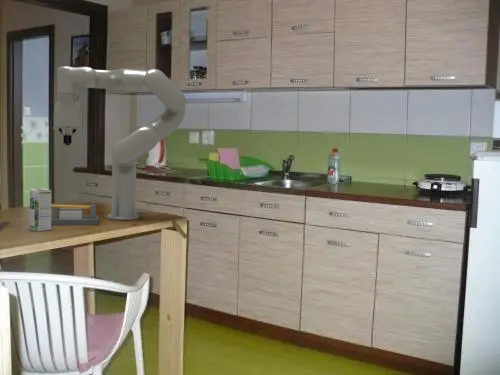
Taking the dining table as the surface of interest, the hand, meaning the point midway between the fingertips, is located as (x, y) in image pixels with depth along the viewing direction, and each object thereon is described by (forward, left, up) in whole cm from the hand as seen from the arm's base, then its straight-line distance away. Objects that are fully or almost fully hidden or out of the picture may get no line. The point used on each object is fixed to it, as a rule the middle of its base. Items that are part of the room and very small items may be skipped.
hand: (67, 145), depth 213 cm
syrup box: (+8, +25, -29) cm, 39 cm away
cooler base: (-3, +12, -29) cm, 32 cm away
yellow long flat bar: (-3, +12, -23) cm, 27 cm away
